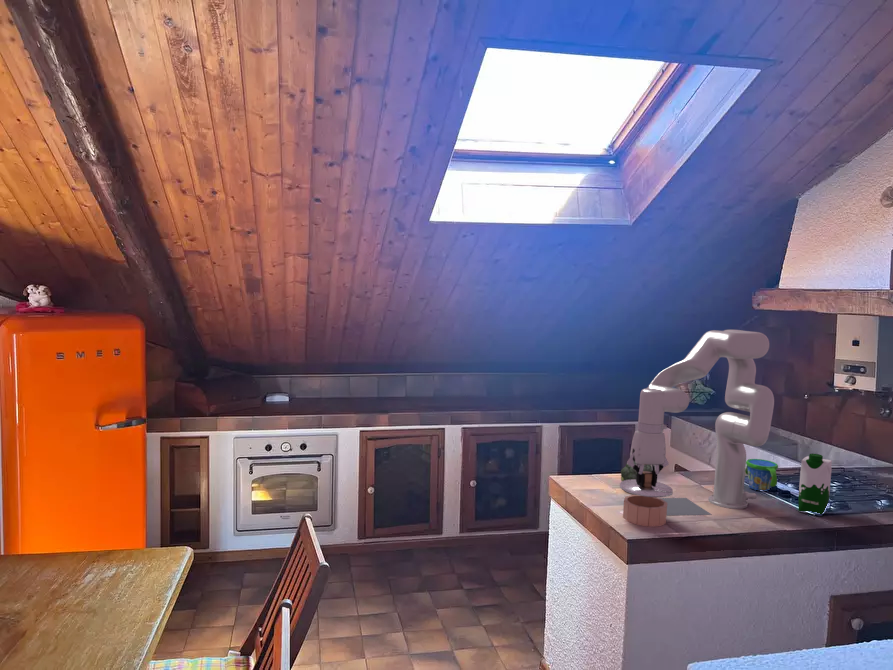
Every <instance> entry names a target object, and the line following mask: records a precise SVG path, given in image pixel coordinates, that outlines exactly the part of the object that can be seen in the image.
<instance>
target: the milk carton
mask: <svg viewBox="0 0 893 670" xmlns="http://www.w3.org/2000/svg"><path fill="white" fill-rule="evenodd" d="M832 462H833V460H831V459H828V458H827V459H825V458H824V455H822V454H818V453H809V454H808V455H807V456H805V457H804V458H803V459H801V464H800V473H799V483H798V484H799V485H798V487H799V488H798V497H797V499H798V500H797V501H798V505H797V506H798V512H799V511H812V512H817V513H820V514H822V513H823V512H824V510H825V508H826V506H827V504H828V505H829V501H830V492H831V491H830V490H831V482H832V481H831V480H832V479H831V478H832V472H833V471H832V464H833V463H832ZM827 507H828V506H827Z"/></svg>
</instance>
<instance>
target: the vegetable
mask: <svg viewBox="0 0 893 670" xmlns="http://www.w3.org/2000/svg"><path fill="white" fill-rule="evenodd" d="M633 463H634V464H635V465H636V464H637V463H636V462H635V461H634V462H633ZM643 471H648V472H652V465H644V468H643ZM636 477H637V472H636V471H635V470H634V469H633V467H631V466H629V465H628V464H627V463H626V464H625V466H624V467H623V468H621V469H620V482H622V481H625V480H631V479H636Z"/></svg>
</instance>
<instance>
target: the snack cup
mask: <svg viewBox="0 0 893 670" xmlns="http://www.w3.org/2000/svg"><path fill="white" fill-rule="evenodd" d="M778 469H779V465H778V464H777V463H776V462H774V461H771V460H766V459H761V458H749V459H746V467H745V475H747V479H748V488H749V489H752V490H754V491H756V490H767V489H770V488H771V489H772V487H776V486H777V485H778V478H777V477H778V476H777V470H778Z"/></svg>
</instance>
